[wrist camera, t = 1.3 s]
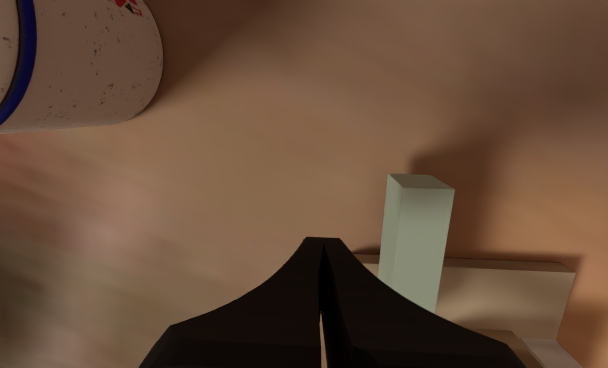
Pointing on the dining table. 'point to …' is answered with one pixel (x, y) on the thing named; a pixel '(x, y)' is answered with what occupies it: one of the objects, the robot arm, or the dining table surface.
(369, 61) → the dining table surface
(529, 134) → the dining table surface
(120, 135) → the dining table surface
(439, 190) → the green rectangular block
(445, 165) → the dining table surface
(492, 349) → the robot arm
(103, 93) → the teacup with lid
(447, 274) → the cream shallow tray
